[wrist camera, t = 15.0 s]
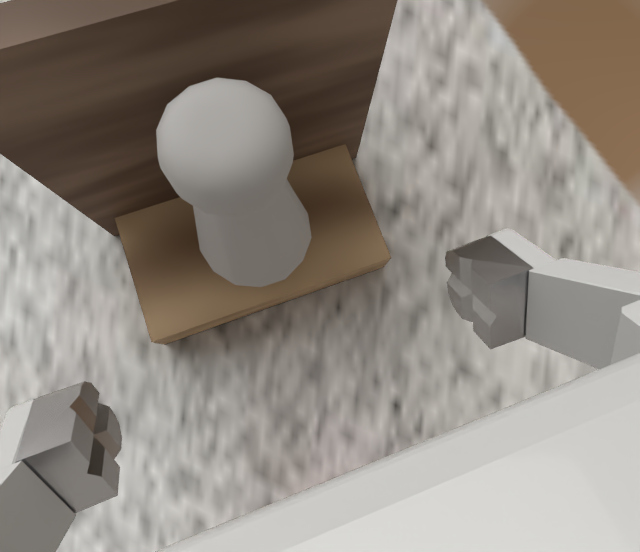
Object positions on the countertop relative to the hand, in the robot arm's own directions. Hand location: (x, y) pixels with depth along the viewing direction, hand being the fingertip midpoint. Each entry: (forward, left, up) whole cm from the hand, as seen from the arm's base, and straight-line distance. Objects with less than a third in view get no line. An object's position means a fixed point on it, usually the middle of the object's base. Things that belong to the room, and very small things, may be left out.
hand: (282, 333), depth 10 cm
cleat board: (+7, +3, -18) cm, 20 cm away
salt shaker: (+6, +3, -16) cm, 17 cm away
